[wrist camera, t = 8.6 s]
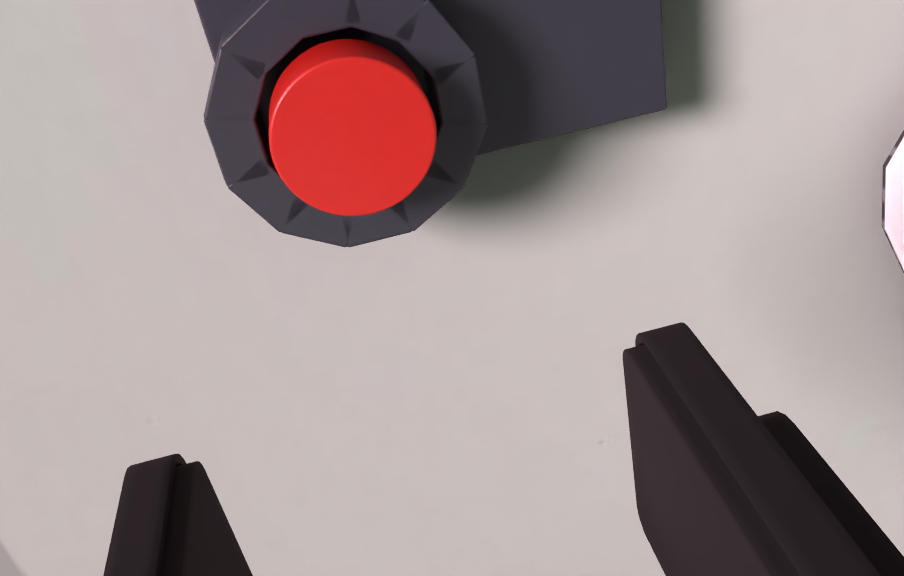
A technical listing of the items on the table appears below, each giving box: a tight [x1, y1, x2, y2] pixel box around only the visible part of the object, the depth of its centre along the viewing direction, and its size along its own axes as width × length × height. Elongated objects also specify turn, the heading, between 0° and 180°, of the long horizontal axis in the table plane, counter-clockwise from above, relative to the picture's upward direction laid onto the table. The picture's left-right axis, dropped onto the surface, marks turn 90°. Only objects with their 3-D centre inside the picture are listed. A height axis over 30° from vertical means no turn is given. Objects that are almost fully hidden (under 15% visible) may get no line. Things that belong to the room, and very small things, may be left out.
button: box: [269, 39, 437, 216], centre depth 21 cm, size 4×4×2 cm
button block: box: [194, 0, 667, 247], centre depth 23 cm, size 12×10×4 cm
